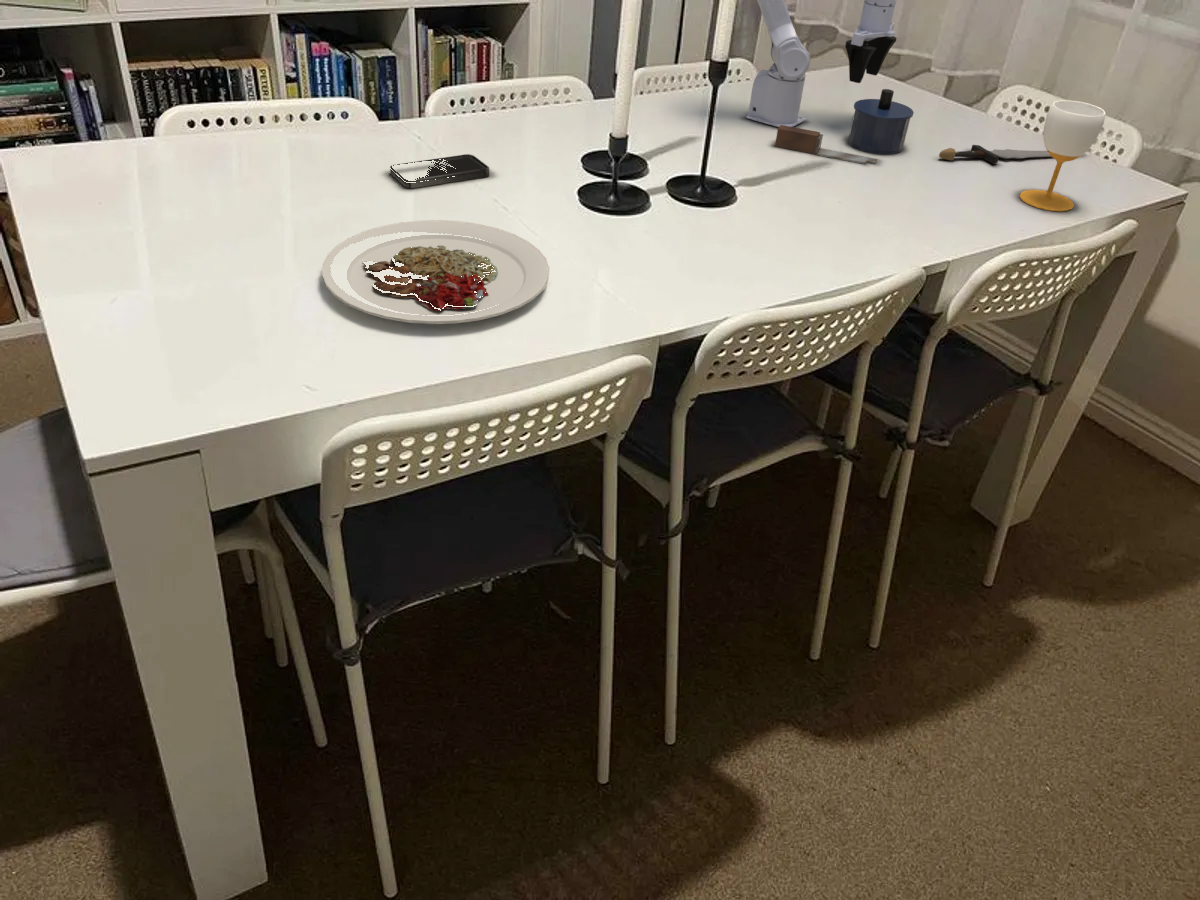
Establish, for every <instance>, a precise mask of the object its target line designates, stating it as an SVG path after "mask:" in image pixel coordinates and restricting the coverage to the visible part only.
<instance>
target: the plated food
mask: <svg viewBox="0 0 1200 900" xmlns="http://www.w3.org/2000/svg"><path fill="white" fill-rule="evenodd" d="M411 231H412V232H427V233H439V234H441V233H443V234H446V233H447V234H452V235H420V236H411V237H405V238H400V239H395V240H391V241H387V242H384V243H381V244H378V245H376V246H374V247H372V248H369V249H367V250H366V251H364V252H363V253H361V254H360V255H358V256H357V257H356V258H355V259H354V260H353V261H352V262H351V264H350V266H349V268H348V270H347V280H348V282H349V284H350V286H351V288H352V289H353V290H354V291H355V292H356V293H357V294H358V295H359V296H361V297H362V298H364V299H365V300H367V301H369V302H371V303H373V304H376V305H378V306H380V307H383V308H387V309H391V310H394V311H398V312H404V313H410V314H419V315H410V314H402V313H395V312H391V311H388V310H383V309H380V308H379V309H378V308H376V307H373V306H370V305H368V304H365V303H363V302H362V301H359V300H357V299H356V298H354V297H352V296H351V295H350V296H349V295H348V294H347V293H345V291H343V289H342V290H341V288H339V286H338V285H336V283H335V282H334V280H333V278H332V276H331V274H332V273H331V270H330V269H331V267H330V265H331V264H332V263H333V262H332V261H334V260H333V259H334V257H335V256H336V255H337V254H338V253H339V252H340V250H342V249H344V247H345V248H346V247H348V246H349V245H350V244H352V243H353V244H355V243H357V242H360V241H363V239H364V240H365V239H367V238H369V237H370V238H371V237H372V236H373V237H376V236H378V237H379V236H380V235H382V236H383V235H385V234H386V235H387V234H393V233H396V234H397V233H398V232H400V233H402V232H411ZM454 235H461V236H454ZM462 236H470V237H473V238H469V237H462ZM475 237H476V238H477V239H475ZM479 238H480V239H482V240H479ZM483 240H485V241H483ZM487 241H488V242H487ZM490 242H491V243H490ZM411 247H412V248H411ZM469 253H470V254H469ZM396 254H398V255H396ZM471 254H472V255H471ZM474 255H475V256H474ZM392 257H393V258H394V259H395V263H396V262H399V263H402V264H404V266H401V267H398V266H395V264H394V262H393V261H392ZM485 259H486V260H485ZM487 259H488V260H487ZM367 261H373V262H377V263H375V264H373V265H369V268H368V269H367V268H365V267H366V265H365V264H364V263H363V262H367ZM481 263H484V264H486V265H490V264H491V266H488V267H487V269H486V268H484V269H483V267H486V265H484V266H482V267H478V265H480V266H481V265H483V264H481ZM389 266H390V267H393V268H392V269H391V268H389ZM492 266H493V267H494V268H493V267H492ZM321 269H322V270H321V277H322V279H324V280H323V283H324V284H325V287H326V289H327V290H328V291H329V292H330V293H331V294H332V295H333V296H334V297H335V298H336V299H338V300H339V301H341V302H342V303H344V304H345V305H347V306H349V307H351V308H353V309H355V310H358V311H360V312H362V313H364V314H367V315H370V316H374V317H378V318H381V319H384V320H390V321H397V322H403V323H409V324H426V325H443V324H444V325H445V324H446V325H447V324H462V323H468V322H469V323H470V322H476V321H482V320H486V319H490V318H494V317H499V316H502V315H505V314H507V313H509V312H513V311H514V310H517V309H520V308H522V307H523V306H525V305H527V304H528V303H530V302H532V301H534V299H536V298H537V296H539V295H540V294H541V293H542V292H543V291H544V289H545V288H546V285H547V284H548V282H549V277H550V265H549V263H548V260H547V258H546V256H545V255H544V254H543V252H542V251H541V250H540V249H539V248H538V247H536V246H535V245H534V244H532V243H531V242H530V241H529V240H526V239H525V238H523V237H521V236H519V235H517V234H515V233H513V232H510V231H506V230H504V229H500V228H497V227H494V226H489V225H486V224H481V223H477V222H476V223H475V222H468V221H461V220H447V219H446V220H443V219H429V220H426V219H425V220H424V219H423V220H422V219H421V220H420V219H419V220H412V221H411V220H410V221H401V222H396V223H390V224H385V225H380V226H376V227H373V228H370V229H367V230H364V231H361V232H359V233H356V234H354V235H352V236H350V237H348V238H346V239H345V240H343V241H341V242H339V243H338V244H337V245H336V246H334V247H333V248H332V249H331V250H330V251H329V252H328V253H327V255H326V257H325V258H324V260H323V263H322V268H321ZM386 269H391V270H393V269H394V270H395V271H399V272H400V273H402V274H405V273H406V274H407V273H409V272H411V273H413V275H415V274H416V275H422V277H425V276H427V275H429V277H427V279H428V280H423V279H412V278H411V276H408V277H402V276H400V277H401V278H396V277H394V276H390V275H389V276H387V275H386V276H384V278H385V281H387V282H389V281H390V282H393V281H394V282H400V283H403V282H404V283H405V284H406V283H408V281H409V280H410V279H412V283H408V284H407V285H401V284H395V285H390V284H387V283H385V282H382V281H381V280H380V279H379V278H378V277H374V275H373V274H371V273H366V271H368V270H369V271H372V272H380V271H382V270H386ZM491 269H493V270H491ZM494 270H495V271H496V272H492V271H494ZM483 272H490V273H483ZM491 272H492V273H491ZM330 273H331V274H330ZM486 274H489V275H486ZM472 275H473V276H472ZM483 275H485V277H484V276H483ZM461 276H462V277H461ZM478 276H480V277H481V278H483V277H484V278H483V279H482V280H481V278H480V277H478ZM408 278H409V279H408ZM419 278H421V277H419ZM474 279H475V281H474ZM479 281H481V282H479ZM478 282H479V283H478ZM373 284H374V285H376V287H378V289H381V290H383V291H390V292H396V293H400V294H410V293H413V294H414V293H415V294H417V295H418V298H420V299H421V300H423V301H427V302H429V303H426V302H422V301H419V299H418V298H417V297H416V296H415V295H407V296H401V295H396V294H392V293H382V292H381V291H379V290H377V289H375V288H374V287H373ZM420 285H421V286H420ZM474 291H476V292H477V293H474ZM485 292H486V293H485ZM476 294H477V295H476ZM480 296H481V298H479V297H480ZM482 296H483V297H482ZM477 300H478V301H477ZM430 303H431V304H432V305H433V306H434V307H436V308H440V309H441V311H440V310H438V309H434V307H432V305H431V304H430ZM447 303H448V305H453V306H465V305H466V306H473V305H476V304H477V305H476V306H474V307H452V306H446V307H444V306H445V304H447ZM498 304H499V305H498ZM495 305H497V306H495ZM493 306H494V307H493ZM443 307H444V309H442V308H443ZM490 307H492V308H490ZM487 308H489V309H487ZM483 309H485V310H483ZM479 310H482V311H479ZM475 311H478V312H475ZM470 312H475V313H470ZM463 313H468V314H465V315H464V314H463ZM455 314H462V315H455ZM422 315H425V316H422ZM427 315H454V316H427Z"/></svg>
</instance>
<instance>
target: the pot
mask: <svg viewBox="0 0 1200 900" xmlns="http://www.w3.org/2000/svg"><path fill="white" fill-rule="evenodd" d="M852 118H853V119H852V123H851V126H850V132H849V137H848V144H849V145H850V146H851V147H853V148H854V149H857V150H860V151H862V152H866V153H870V154H876V155H895V154H898V153H901V152H902V151H903V148H904V145H905V142H906V138H907V132H908V129H909V125H910V121H911V118H909V119H906V120H883V119H877V118H873V117H869V116H866V115H863V114H861V113H859V112H857V111H856V110H855V109H854V113H853V117H852Z"/></svg>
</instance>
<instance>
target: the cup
mask: <svg viewBox="0 0 1200 900" xmlns="http://www.w3.org/2000/svg"><path fill="white" fill-rule="evenodd" d="M1106 114H1107V112H1106V111H1105V110H1104V108H1101V107H1099V106H1098V105H1095V104H1094V105H1093V104H1091V103H1087V102H1083V101H1078V100H1070V99H1061V100H1055V101H1053V103H1052V104H1051V106H1050V108H1049V110H1048V111H1047V114H1046V117H1045V120H1044V125H1043V134H1042V135H1043V137H1042V138H1043V143H1044V148H1045V150H1046V151H1048V153H1049V154H1050V156H1051V157H1050V158H1052V159H1054V160H1055V161H1056V165H1055V168H1054V170H1053V173H1052V176H1051V179H1050V182H1049V185H1048V188H1047V189H1046V190H1042V189H1027V190H1023V191H1021V193H1020V194H1019V198H1020V200H1021V202H1024V203H1025V204H1026V205H1029V206H1031V207H1033V208H1036V209H1040V210H1043V211H1050V212H1068V211H1070V210H1073V208H1074V206H1075V204H1074V202H1073V201H1072V199H1070V198H1069V197H1066V196H1064V195H1062V194H1060V193H1058V192H1053V191H1054V188H1055V185H1056V182H1057V180H1058V176H1059V174H1060V172H1061V169H1062V166H1063V164H1064V163H1066V162H1071V161H1075V160H1077V159H1078V158H1081V157H1082V156H1084V155H1085V154H1086V153H1087V152H1088V151H1089V150H1090V149H1091V147H1092V146H1093V145H1094V143H1095V141H1096V140H1097V138H1098V137H1099V135H1100V132H1101V131H1102V128H1103V126H1104V125H1105V119H1106Z"/></svg>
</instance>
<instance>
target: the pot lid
mask: <svg viewBox="0 0 1200 900" xmlns="http://www.w3.org/2000/svg"><path fill="white" fill-rule="evenodd" d="M894 93H895V91H894V90H893V89H889V88H883V89H882V90H881V92H880V98H864V99H859V100H857V101H855V102H854V105H853V108H854V111H855V110H856V111H857V112H859V113H861V114H863V115H866V116H869V117H873V118H877V119H883V120H906V119H909V118H910V119H911V118H913V116H914V114H915V113H914V110H913V108H911V107H909V106H907V105H905V104H903V103H900V102H897V101H893V98H894Z"/></svg>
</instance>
